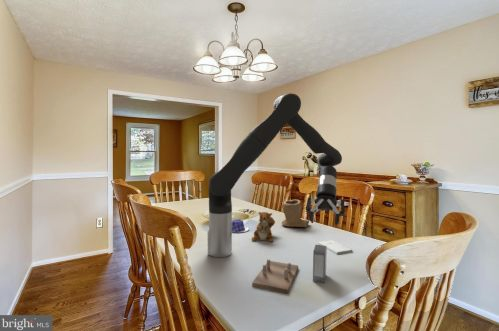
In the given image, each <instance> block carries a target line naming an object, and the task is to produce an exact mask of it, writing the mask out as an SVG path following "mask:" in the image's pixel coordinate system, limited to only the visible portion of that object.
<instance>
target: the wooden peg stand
mask: <svg viewBox="0 0 499 331" xmlns="http://www.w3.org/2000/svg"><path fill="white" fill-rule="evenodd" d="M298 270H299V265H297V264H292V263H291V262H287V263H285V262H281V261H273V260H271V259H270V258H269V259H266V263H265V264H262V269H261V270H260V272H259V273H258V274H257V276H256V277H255V278H254V279H253V281H252V287H254V288H260V289H263V288H264V289H265V290H268V289H269V291H272V292H273V291H274V292H278V293H282V294H283V293H284V294H288V293H289V291H290V289H291V287H292V285H293V282H294V279H295V277H296V276H297V272H298Z"/></svg>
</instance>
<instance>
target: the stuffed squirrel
mask: <svg viewBox="0 0 499 331" xmlns="http://www.w3.org/2000/svg"><path fill="white" fill-rule="evenodd" d="M272 215H273V212H270V213H269V212H266V211H262V212H261V211H258V216H259V219H258V224H257V226H256V229H255V230H254V231H253V237H252V238H251V241H252V242H256V241H257V242H258V241H267V242H268V243H273V242H274V236H273V233H272V230H271V228H272V227H274V226H275V224H276V221H275V219H274V217H272Z"/></svg>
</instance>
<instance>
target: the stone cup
mask: <svg viewBox="0 0 499 331" xmlns="http://www.w3.org/2000/svg"><path fill="white" fill-rule="evenodd" d="M282 211H283V215H284V217H285V219H284V220H283V221H282V222H281V225H282V226H284V227H292V228H307V227H308V225H309V224H310V219H309V220H308V219H302V218H301V217H302V211H303V204H302V202H301V200H299V199H287V200H285V201H284V202H282Z"/></svg>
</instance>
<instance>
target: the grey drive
mask: <svg viewBox="0 0 499 331" xmlns="http://www.w3.org/2000/svg"><path fill="white" fill-rule="evenodd" d="M327 250H328V249H327V246H323V245H319V244H315V245H314V248H313V254H312V255H313V260H312V282H315V283H320V284H325V283H326V276H327Z"/></svg>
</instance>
